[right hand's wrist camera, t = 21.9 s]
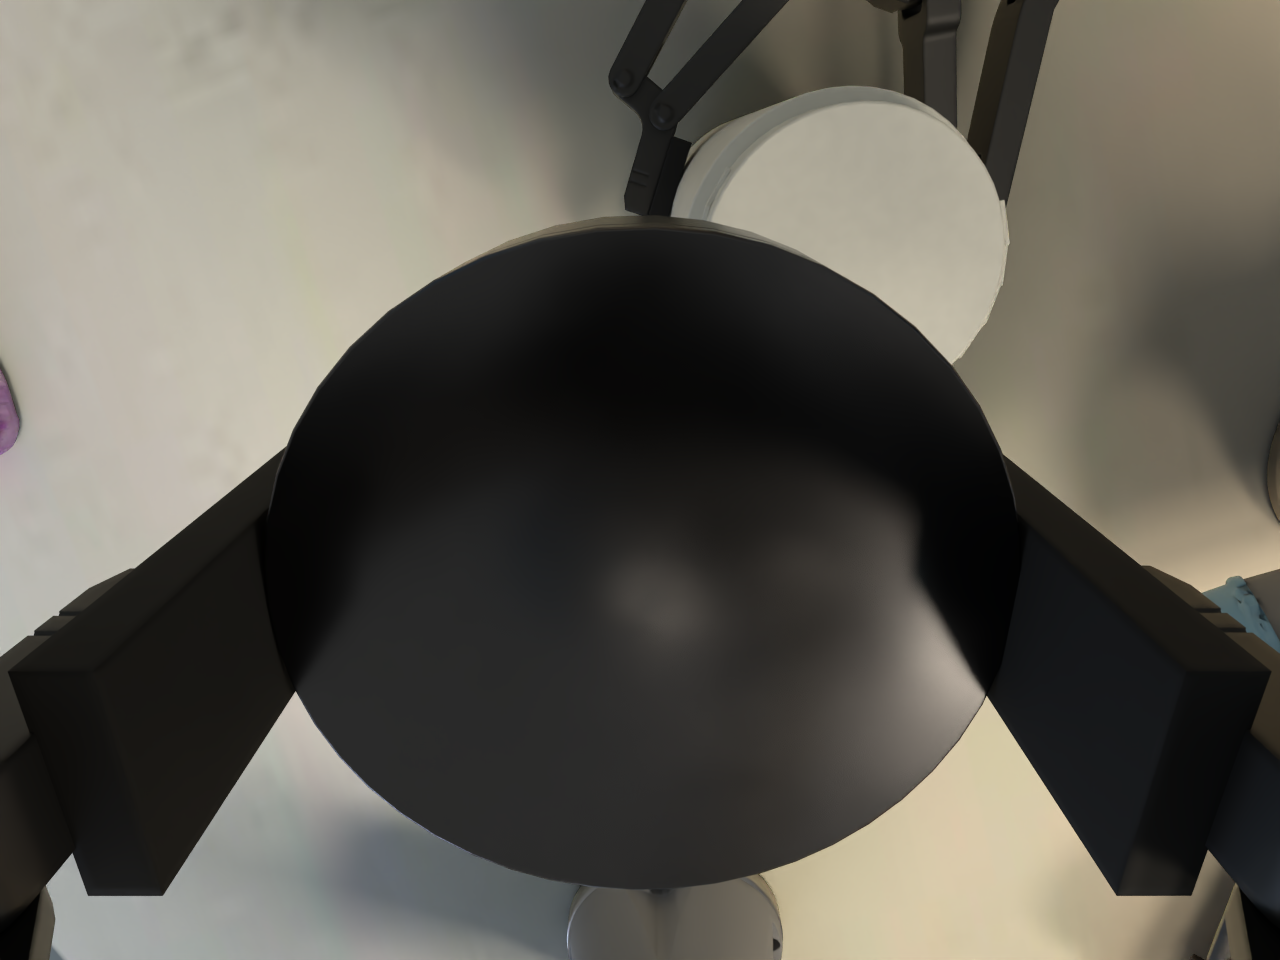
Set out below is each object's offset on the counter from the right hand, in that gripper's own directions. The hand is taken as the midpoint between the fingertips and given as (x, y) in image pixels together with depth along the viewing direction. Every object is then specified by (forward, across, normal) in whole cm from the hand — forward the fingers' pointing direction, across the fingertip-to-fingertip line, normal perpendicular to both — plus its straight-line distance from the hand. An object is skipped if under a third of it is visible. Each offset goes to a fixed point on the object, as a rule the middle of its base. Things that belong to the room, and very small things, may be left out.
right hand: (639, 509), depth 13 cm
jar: (+28, -6, -3) cm, 29 cm away
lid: (-3, 0, 0) cm, 3 cm away
